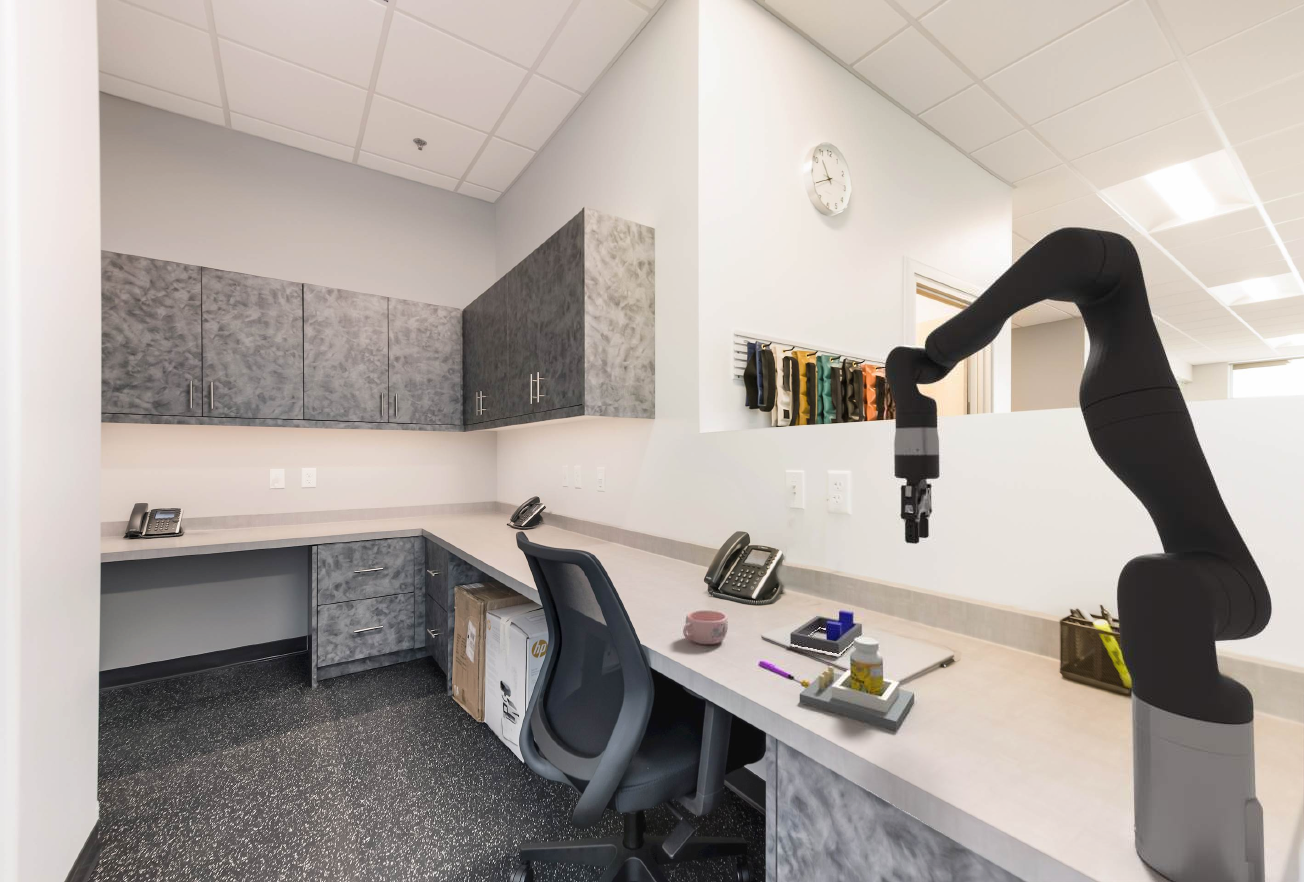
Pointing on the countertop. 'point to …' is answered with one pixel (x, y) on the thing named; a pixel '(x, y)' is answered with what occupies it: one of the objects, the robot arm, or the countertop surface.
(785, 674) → the purple handled brush
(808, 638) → the tray
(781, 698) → the countertop surface
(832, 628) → the cable clip
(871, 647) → the supplement bottle
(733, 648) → the countertop surface
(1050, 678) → the countertop surface
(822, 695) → the board
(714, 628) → the mug
